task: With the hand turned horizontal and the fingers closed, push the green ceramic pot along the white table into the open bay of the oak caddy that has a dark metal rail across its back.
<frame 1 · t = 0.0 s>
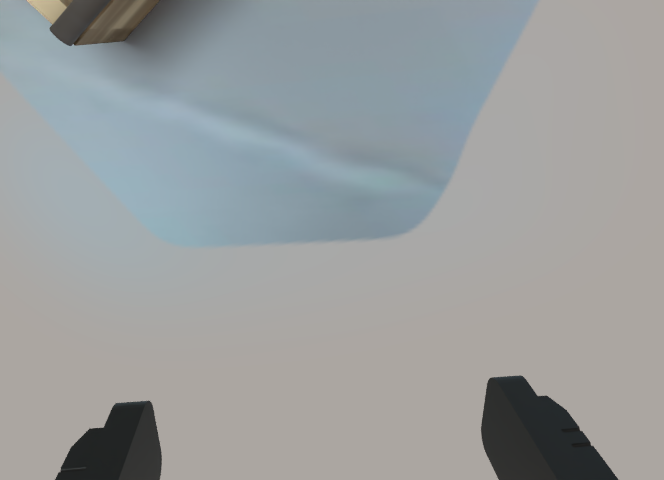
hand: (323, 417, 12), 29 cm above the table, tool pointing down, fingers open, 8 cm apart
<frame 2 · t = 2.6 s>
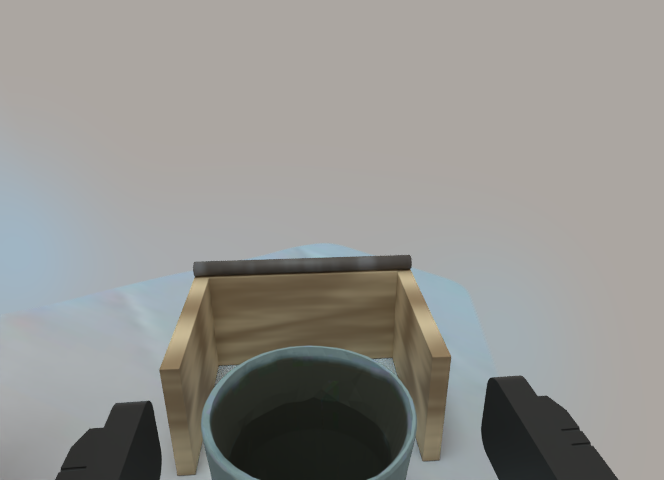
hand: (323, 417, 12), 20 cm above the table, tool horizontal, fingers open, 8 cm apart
oak caddy: (308, 407, 41), on the table
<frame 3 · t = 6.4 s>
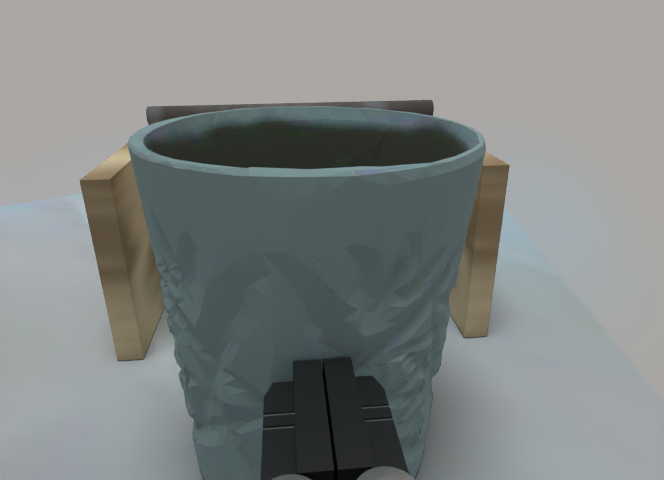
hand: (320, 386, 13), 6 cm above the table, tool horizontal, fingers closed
green ceramic pot: (317, 439, 20), on the table, touching gripper
oak caddy: (302, 290, 31), on the table
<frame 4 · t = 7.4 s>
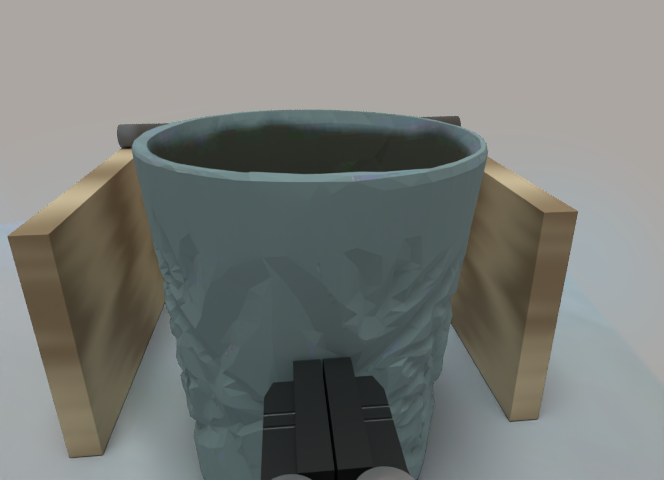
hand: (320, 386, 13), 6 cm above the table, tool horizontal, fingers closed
green ceramic pot: (319, 442, 20), on the table, touching gripper
oak caddy: (305, 348, 25), on the table
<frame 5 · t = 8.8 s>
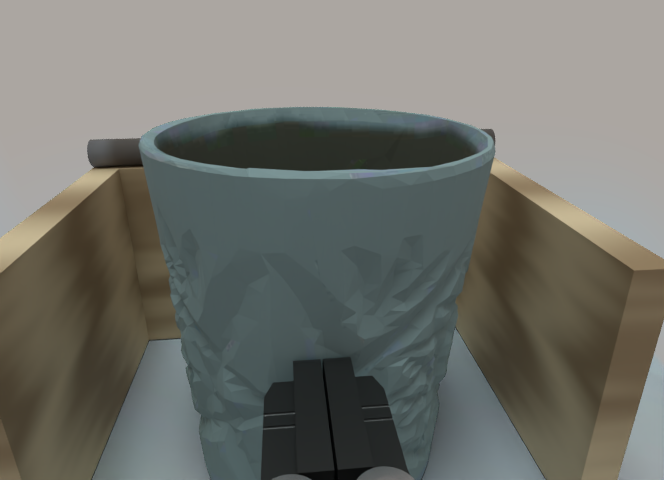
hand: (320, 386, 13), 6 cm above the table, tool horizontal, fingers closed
green ceramic pot: (324, 440, 20), on the table, touching gripper
oak caddy: (311, 409, 21), on the table
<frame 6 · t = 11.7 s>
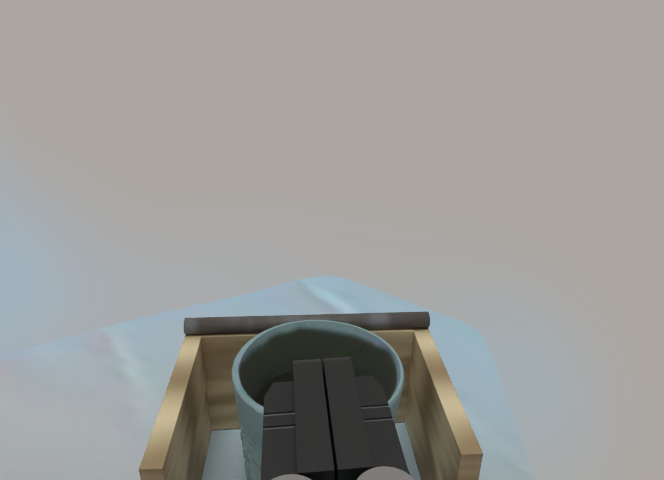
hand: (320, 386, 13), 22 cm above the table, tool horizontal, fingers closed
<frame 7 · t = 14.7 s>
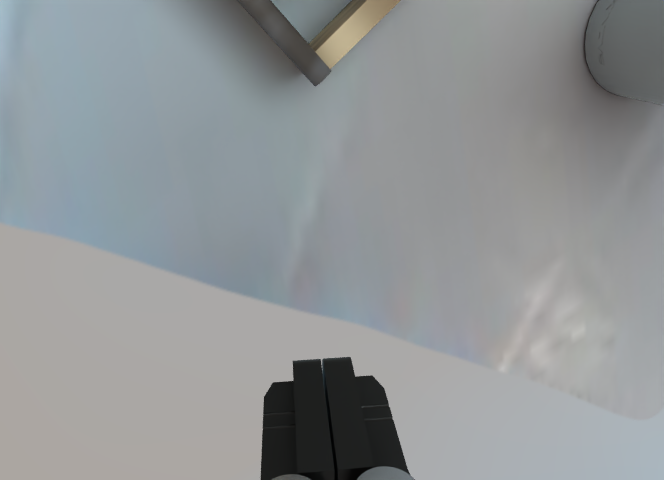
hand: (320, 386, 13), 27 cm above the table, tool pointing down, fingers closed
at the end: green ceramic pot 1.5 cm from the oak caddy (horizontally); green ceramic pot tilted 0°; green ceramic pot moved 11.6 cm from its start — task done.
